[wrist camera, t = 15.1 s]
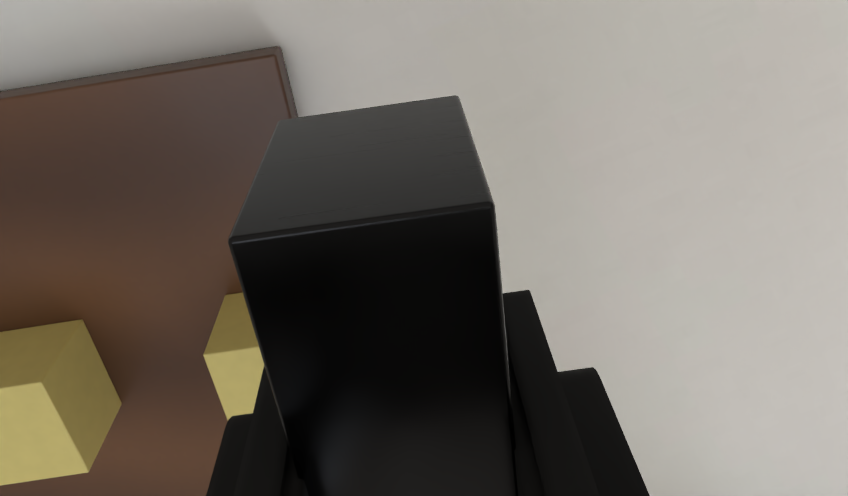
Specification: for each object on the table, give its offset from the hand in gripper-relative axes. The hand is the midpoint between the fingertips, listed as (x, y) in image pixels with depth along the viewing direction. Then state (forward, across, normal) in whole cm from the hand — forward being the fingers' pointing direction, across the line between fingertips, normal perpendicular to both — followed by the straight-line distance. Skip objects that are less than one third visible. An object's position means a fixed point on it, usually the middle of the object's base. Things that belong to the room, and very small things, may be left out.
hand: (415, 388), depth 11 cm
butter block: (+13, +15, +8) cm, 21 cm away
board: (+14, +11, +8) cm, 19 cm away
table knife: (0, 0, +5) cm, 5 cm away
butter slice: (+13, +6, +7) cm, 16 cm away
